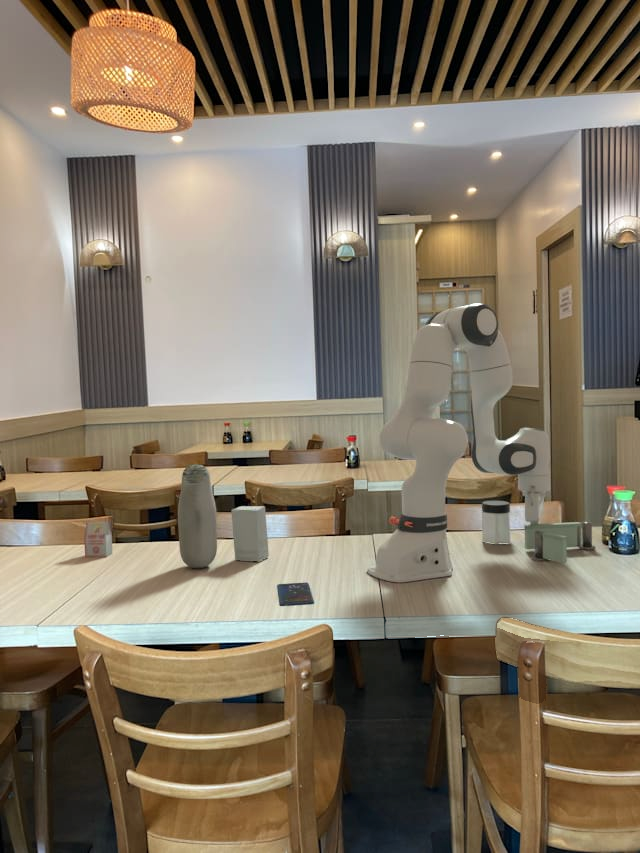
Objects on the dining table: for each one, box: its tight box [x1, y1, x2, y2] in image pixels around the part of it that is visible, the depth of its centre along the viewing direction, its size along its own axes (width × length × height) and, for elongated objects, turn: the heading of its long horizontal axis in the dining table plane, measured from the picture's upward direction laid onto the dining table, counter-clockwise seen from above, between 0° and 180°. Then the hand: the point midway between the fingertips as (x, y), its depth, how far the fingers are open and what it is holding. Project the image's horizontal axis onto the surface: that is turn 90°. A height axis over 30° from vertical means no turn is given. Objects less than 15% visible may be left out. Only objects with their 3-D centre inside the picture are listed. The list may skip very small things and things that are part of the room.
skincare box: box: [231, 505, 270, 563], centre depth 174 cm, size 8×6×15 cm
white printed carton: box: [83, 521, 113, 558], centre depth 184 cm, size 4×7×10 cm, turn 82°
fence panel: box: [542, 532, 568, 564], centre depth 162 cm, size 2×6×7 cm, turn 31°
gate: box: [524, 521, 582, 550], centre depth 175 cm, size 16×2×7 cm, turn 95°
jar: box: [481, 500, 511, 544], centre depth 187 cm, size 9×8×12 cm
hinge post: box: [578, 521, 596, 551], centre depth 176 cm, size 4×4×8 cm
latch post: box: [530, 531, 549, 563], centre depth 166 cm, size 6×5×8 cm
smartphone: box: [277, 582, 315, 607], centre depth 142 cm, size 8×1×15 cm
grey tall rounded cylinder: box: [177, 463, 218, 569], centre depth 167 cm, size 10×10×28 cm
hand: (534, 531), depth 177 cm, fingers closed
